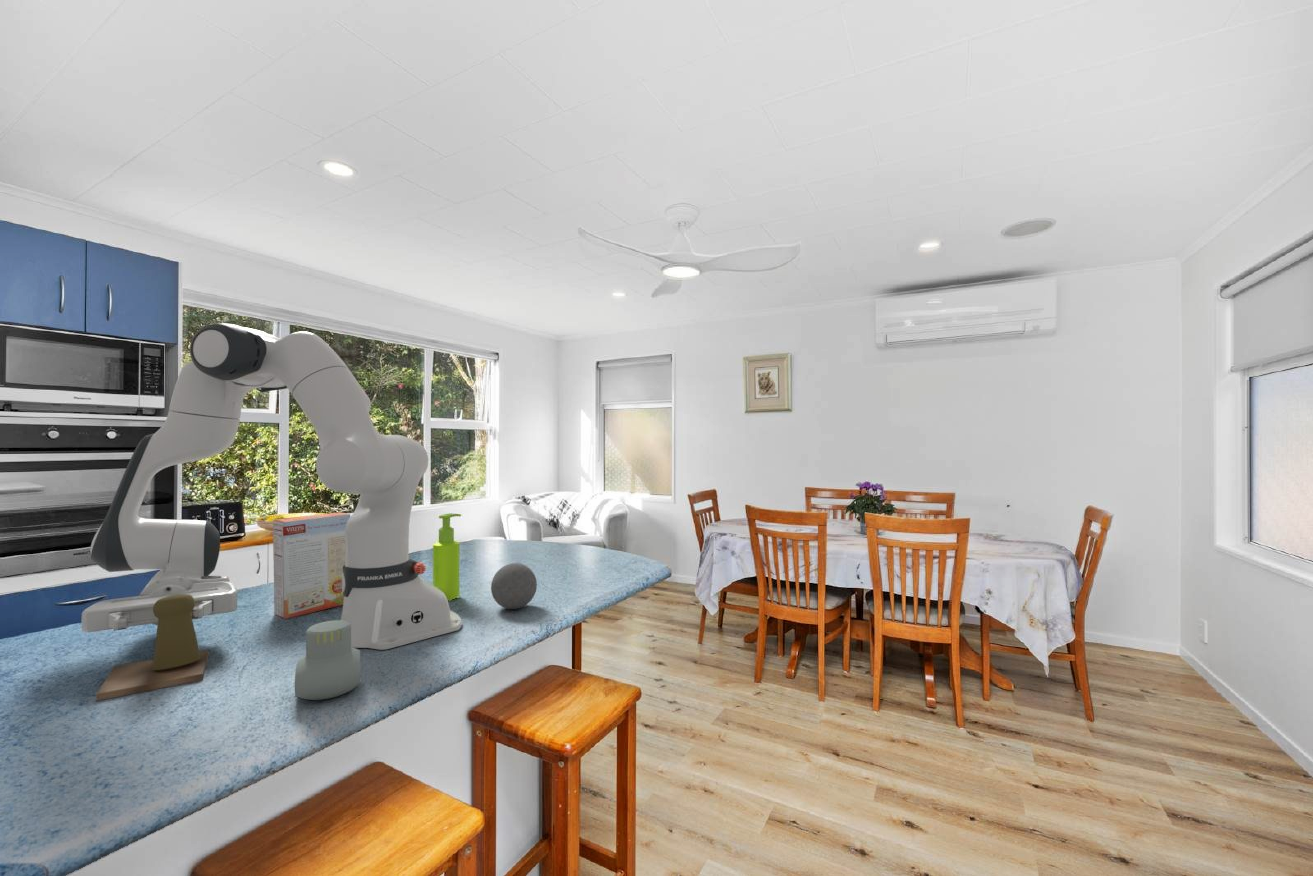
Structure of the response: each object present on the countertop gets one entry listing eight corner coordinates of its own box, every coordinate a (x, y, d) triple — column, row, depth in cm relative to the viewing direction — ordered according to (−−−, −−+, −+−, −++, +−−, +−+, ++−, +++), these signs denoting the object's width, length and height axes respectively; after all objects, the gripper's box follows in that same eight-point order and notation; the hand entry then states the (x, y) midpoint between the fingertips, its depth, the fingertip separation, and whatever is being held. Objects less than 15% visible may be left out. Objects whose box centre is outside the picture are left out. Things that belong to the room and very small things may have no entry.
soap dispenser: (467, 595, 135) (467, 513, 135) (445, 603, 128) (446, 517, 128) (449, 592, 137) (449, 511, 137) (427, 599, 131) (427, 515, 131)
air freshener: (299, 683, 87) (299, 620, 87) (359, 672, 91) (359, 611, 91) (293, 714, 77) (293, 642, 77) (360, 700, 81) (360, 632, 81)
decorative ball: (488, 604, 127) (488, 561, 127) (531, 599, 131) (531, 557, 131) (494, 617, 118) (494, 571, 118) (541, 611, 122) (541, 566, 122)
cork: (146, 673, 87) (143, 601, 87) (158, 663, 92) (155, 596, 93) (195, 663, 89) (192, 594, 90) (204, 654, 95) (201, 589, 96)
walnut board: (208, 655, 97) (208, 649, 97) (202, 680, 88) (202, 673, 88) (114, 672, 91) (114, 666, 91) (96, 700, 81) (96, 694, 81)
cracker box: (339, 599, 131) (339, 511, 131) (352, 603, 128) (352, 513, 127) (272, 614, 120) (272, 518, 120) (283, 620, 116) (283, 520, 116)
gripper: (91, 590, 96) (68, 611, 85) (238, 574, 108) (236, 590, 97) (91, 627, 96) (68, 652, 85) (238, 606, 108) (236, 626, 97)
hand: (159, 619), depth 91 cm, fingers open, 8 cm apart
